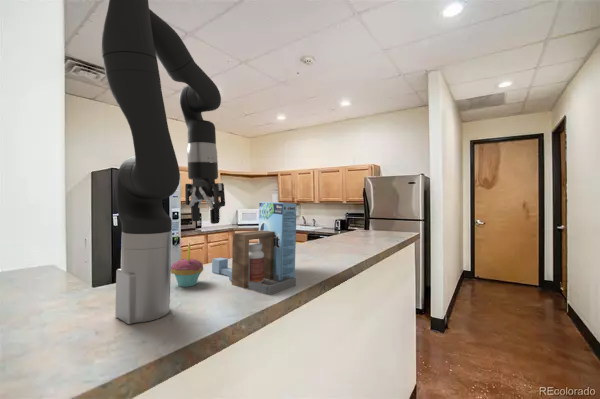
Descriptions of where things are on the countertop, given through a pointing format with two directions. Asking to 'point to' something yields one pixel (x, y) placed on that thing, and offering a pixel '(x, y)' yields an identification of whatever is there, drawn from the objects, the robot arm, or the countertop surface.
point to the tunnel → (242, 255)
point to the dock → (273, 288)
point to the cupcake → (187, 270)
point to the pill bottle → (256, 263)
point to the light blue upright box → (280, 234)
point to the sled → (221, 267)
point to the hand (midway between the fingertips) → (205, 222)
